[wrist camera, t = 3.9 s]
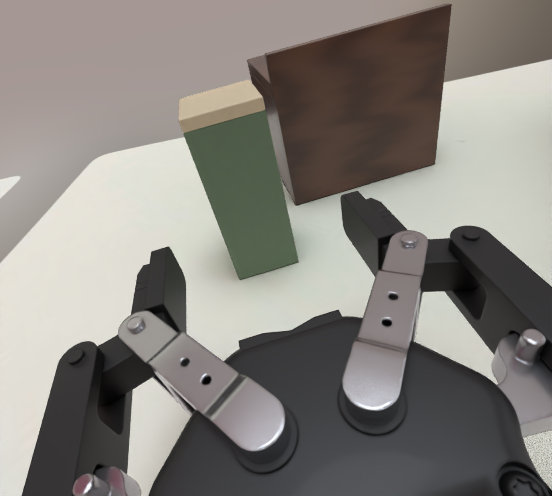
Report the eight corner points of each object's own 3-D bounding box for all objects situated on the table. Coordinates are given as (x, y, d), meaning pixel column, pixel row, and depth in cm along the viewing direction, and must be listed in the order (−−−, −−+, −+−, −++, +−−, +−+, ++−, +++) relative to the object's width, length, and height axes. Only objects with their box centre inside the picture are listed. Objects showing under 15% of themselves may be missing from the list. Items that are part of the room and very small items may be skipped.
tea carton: (284, 228, 31) (249, 78, 23) (298, 262, 27) (262, 96, 19) (232, 244, 31) (178, 98, 23) (239, 280, 27) (178, 119, 19)
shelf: (375, 123, 45) (373, 1, 37) (435, 164, 34) (452, 3, 26) (268, 154, 45) (241, 36, 36) (295, 205, 34) (266, 54, 25)
